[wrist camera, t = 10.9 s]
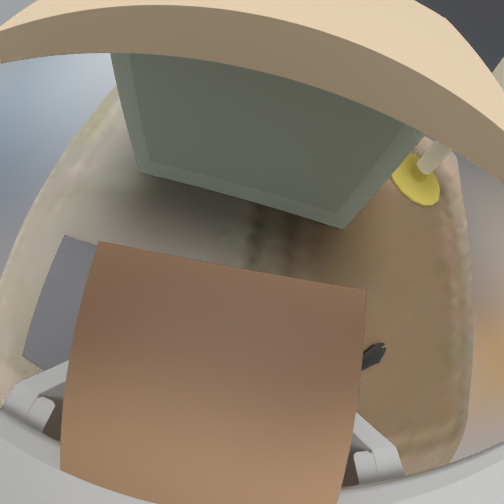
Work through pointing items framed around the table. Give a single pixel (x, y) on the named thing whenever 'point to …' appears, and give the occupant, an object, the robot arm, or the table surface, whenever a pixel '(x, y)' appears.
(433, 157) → the candle
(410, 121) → the cabinet
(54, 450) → the robot arm
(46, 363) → the mat
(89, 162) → the table surface
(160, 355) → the walnut block
